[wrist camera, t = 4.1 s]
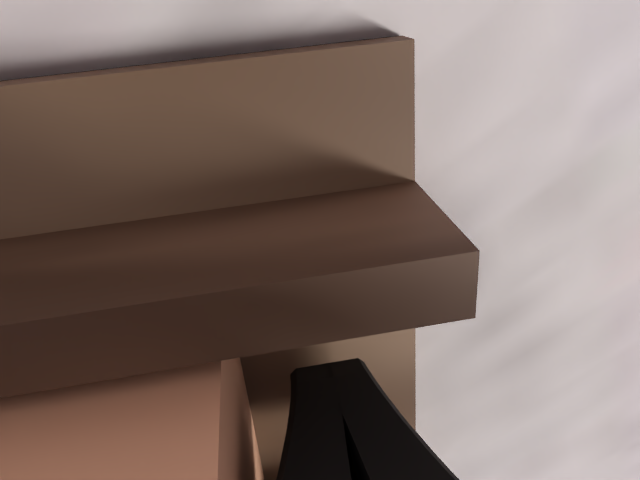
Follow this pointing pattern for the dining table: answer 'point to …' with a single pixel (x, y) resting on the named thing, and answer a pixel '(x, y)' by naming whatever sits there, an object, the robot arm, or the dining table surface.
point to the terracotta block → (134, 428)
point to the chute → (223, 224)
